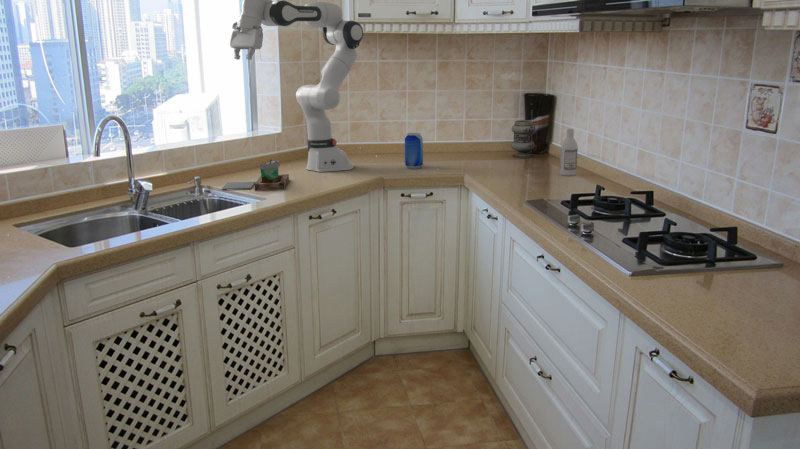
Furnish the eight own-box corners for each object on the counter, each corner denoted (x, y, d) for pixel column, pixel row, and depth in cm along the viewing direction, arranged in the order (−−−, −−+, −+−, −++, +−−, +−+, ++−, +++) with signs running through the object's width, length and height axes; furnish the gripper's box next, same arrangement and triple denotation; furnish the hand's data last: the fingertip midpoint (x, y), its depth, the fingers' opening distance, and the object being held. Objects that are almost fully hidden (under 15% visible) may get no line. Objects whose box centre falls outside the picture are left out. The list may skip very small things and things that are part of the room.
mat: (255, 182, 279) (255, 181, 278) (250, 189, 267) (250, 187, 267) (227, 183, 278) (227, 182, 278) (221, 190, 266) (221, 188, 266)
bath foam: (579, 175, 281) (582, 129, 275) (566, 176, 278) (569, 130, 272) (568, 172, 287) (571, 127, 281) (556, 173, 284) (558, 128, 278)
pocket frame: (288, 179, 283) (288, 174, 283) (284, 189, 266) (283, 183, 265) (261, 180, 283) (261, 175, 282) (254, 190, 265) (254, 184, 264)
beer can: (402, 168, 302) (401, 134, 298) (409, 165, 310) (408, 132, 305) (419, 169, 299) (418, 135, 295) (425, 166, 307) (425, 132, 302)
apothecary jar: (512, 153, 333) (513, 119, 328) (536, 154, 329) (537, 119, 324) (508, 158, 323) (509, 122, 317) (532, 159, 319) (534, 122, 314)
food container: (275, 188, 268) (273, 164, 265) (261, 187, 269) (259, 164, 266) (285, 181, 280) (283, 159, 277) (271, 181, 281) (269, 159, 278)
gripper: (269, 28, 262) (262, 61, 263) (243, 29, 276) (236, 61, 277) (256, 23, 257) (249, 57, 258) (230, 24, 272) (223, 56, 272)
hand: (242, 59), depth 268 cm, fingers open, 8 cm apart
